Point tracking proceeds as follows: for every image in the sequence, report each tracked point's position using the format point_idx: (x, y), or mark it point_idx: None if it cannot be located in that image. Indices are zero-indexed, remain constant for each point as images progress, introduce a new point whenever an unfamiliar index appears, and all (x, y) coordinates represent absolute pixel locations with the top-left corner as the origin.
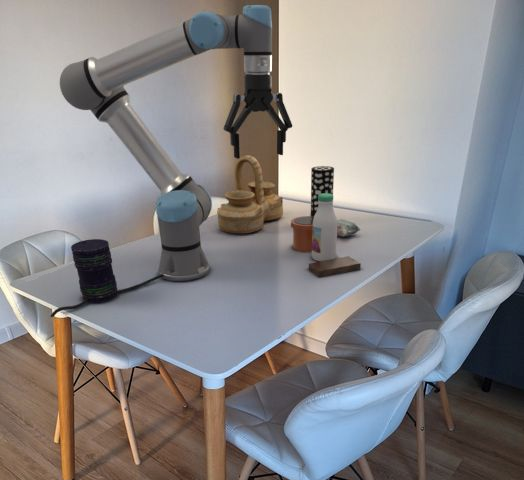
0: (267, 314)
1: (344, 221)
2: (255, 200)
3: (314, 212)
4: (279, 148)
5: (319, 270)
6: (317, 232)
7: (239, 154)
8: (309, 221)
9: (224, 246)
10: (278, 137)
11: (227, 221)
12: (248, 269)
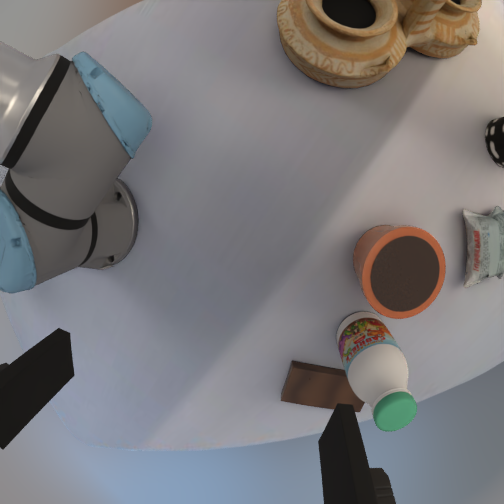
0: (148, 420)
1: (499, 253)
2: (410, 5)
3: (501, 140)
4: (328, 455)
5: (282, 399)
6: (345, 371)
7: (63, 385)
8: (402, 287)
9: (233, 122)
10: (341, 498)
11: (285, 43)
12: (199, 286)
